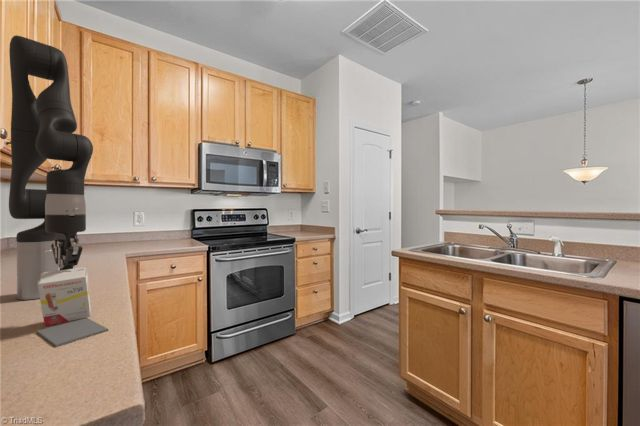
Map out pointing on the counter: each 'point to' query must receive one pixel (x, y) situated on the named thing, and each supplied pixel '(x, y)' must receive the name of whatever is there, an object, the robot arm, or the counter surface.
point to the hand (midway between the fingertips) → (66, 282)
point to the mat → (71, 331)
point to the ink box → (64, 295)
